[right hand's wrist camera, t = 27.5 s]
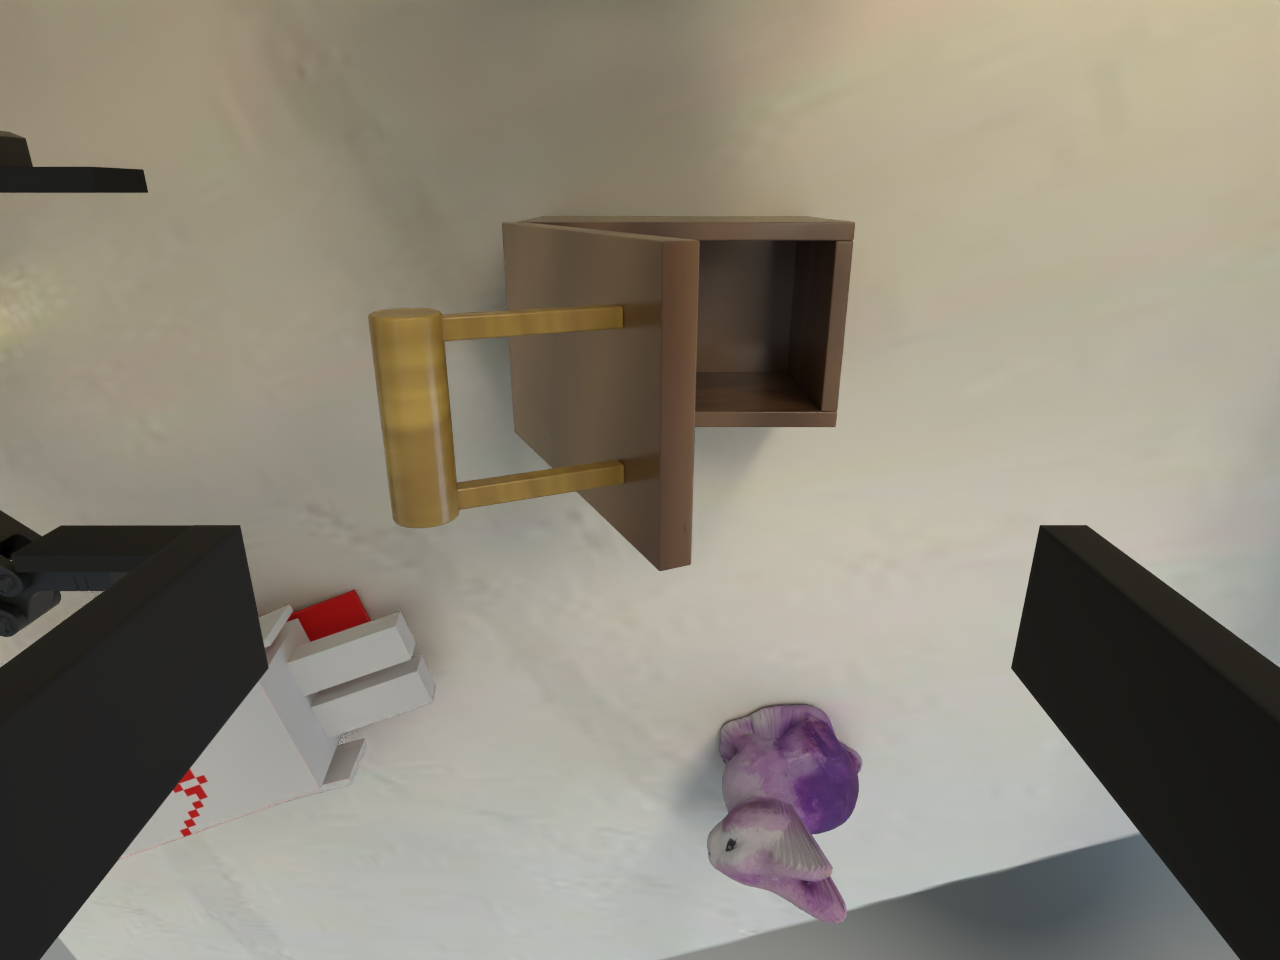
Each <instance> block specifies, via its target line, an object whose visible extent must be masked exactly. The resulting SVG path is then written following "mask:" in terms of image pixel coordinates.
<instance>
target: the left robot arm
mask: <svg viewBox="0 0 1280 960" xmlns="http://www.w3.org/2000/svg"><path fill="white" fill-rule="evenodd" d="M0 193H148V190H147V185H146V180H145V175H144V171H143V170H139V169H120V168H101V167H33V165H32V162H31V158H30V154H29V150H28V146H27V142H26V139H25V138H23V137H20V136H18V135H15V134H13V133H10V132H4V131H0ZM190 527H192V526H60V527H58V528H56V529H54V530H53V531H51V532H49V533H47V534H46V535H44V536H41V535H39V534H37V533H36V532H34V531H33V530H31V529H29V528H28V527H26V526H25V525H23V524H21V523H20V522H18V521H17V520H15V519H13V518H12V517H10V516H9V515H7V514H5V513H4V512H2V511H1V510H0V636H4V637H9V636H12V635H14V634H16V633H17V632H19V631H20V630H21V629H23V628H24V627H26V626H27V625H29V624H30V623H32V622H33V621H34V620H36V619H37V618H39V617H40V616H42V615H43V614H44V613H46V612H47V611H49V610H50V609H51V608H53V607H54V606H56V605H57V604H59V602H60V600H61V594H60V592H59V591H78V590H79V591H88V590H90V591H104V590H106V589H108V588H109V587H111V586H112V585H113V584H115V583H116V582H117V581H119V580H120V579H121V578H123V577H124V576H125V575H127V574H128V573H130V572H131V571H132V570H134V569H135V568H136V567H138V566H139V565H140V564H142V563H143V562H144V561H146V560H147V559H148V558H150V557H151V556H153V555H154V554H155V553H157V552H158V551H159V550H161V549H162V548H163V547H165V546H166V545H167V544H169V543H170V542H172V541H173V540H174V539H176V538H177V537H178V536H180V535H181V534H182V533H184V532H185V531H186V530H188V529H189V528H190ZM10 560H12V561H10Z"/></svg>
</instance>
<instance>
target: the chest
mask: <svg viewBox="0 0 1280 960" xmlns="http://www.w3.org/2000/svg"><path fill="white" fill-rule="evenodd" d="M520 222H528V223H537V224H547V225H557V226H566V227H576V228H586V229H595V230H605V231H615V232H624V233H634V234H644V235H653V236H663V237H673V238H682V239H692V240H698V241H699V242H700V246H699V284H698V321H697V358H696V395H695V427H835V426H836V418H837V407H838V396H839V386H840V375H841V365H842V354H843V343H844V333H845V322H846V312H847V301H848V290H849V280H850V269H851V259H852V248H853V241H852V240H853V238H854V228H855V223H854V222H849V221H840V220H832V219H824V218H816V217H641V216H543V217H538V218H534V219H529V220H524V221H520Z"/></svg>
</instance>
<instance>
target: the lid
mask: <svg viewBox="0 0 1280 960" xmlns="http://www.w3.org/2000/svg"><path fill="white" fill-rule="evenodd" d="M502 230H503V246H504V263H505V280H506V297H507V310H505V311H489V312H472V313H455V314H442V313H441V312H440V311H438V310H435V309H428V308H398V309H387V310H380V311H375V312H372V313H370V314H369V316H368V320H369V328H370V336H371V345H372V353H373V361H374V369H375V377H376V385H377V393H378V401H379V410H380V418H381V426H382V434H383V442H384V450H385V458H386V466H387V475H388V483H389V491H390V499H391V507H392V515H393V520H394V521H395V523H397V524H398V525H400V526H404V527H409V528H428V527H435V526H439V525H443V524H446V523H448V522H450V521H452V520H454V519H455V518H456V517H457V516H458V514H459V510H461V509H467V508H474V507H480V506H486V505H492V504H499V503H505V502H511V501H517V500H524V499H530V498H536V497H542V496H549V495H555V494H561V493H567V492H574V491H577V492H578V493H579V494H580V495H581V496H582V497H583V498H584V499H585V500H586V501H587V502H588V503H589V504H590V505H591V506H592V507H593V508H594V509H595V510H596V511H597V512H598V513H599V514H601V515H602V516H603V517H604V518H605V519H606V520H607V521H608V522H609V523H610V524H611V525H612V526H613V527H614V528H615V529H616V530H617V531H618V532H619V533H620V534H621V535H622V536H623V537H624V538H625V539H627V540H628V541H629V542H630V543H631V544H632V545H633V546H634V547H635V548H636V549H637V550H638V551H639V552H640V553H641V554H642V555H643V556H644V557H645V558H646V559H647V560H648V561H649V562H650V563H651V564H652V565H654V566H655V567H656V568H657V569H658V570H659V571H663V570H668V569H672V568H677V567H682V566H686V565H690V564H691V544H692V507H693V470H694V432H695V395H696V358H697V321H698V284H699V246H700V242H699V241H698V240H692V239H682V238H673V237H663V236H653V235H644V234H634V233H624V232H615V231H605V230H595V229H586V228H576V227H566V226H557V225H547V224H537V223H528V222H506V223H502ZM497 337H509V347H510V364H511V381H512V398H513V414H514V431H515V433H516V434H517V435H518V436H519V437H521V438H522V439H523V440H524V441H525V442H526V443H527V444H528V445H529V446H530V447H531V448H532V449H533V450H534V451H535V452H536V453H537V454H538V455H539V456H540V457H541V458H542V459H543V460H544V461H545V462H547V463H548V464H549V465H550V466H551V467H552V468H553V469H548V470H541V471H534V472H527V473H520V474H513V475H507V476H500V477H493V478H486V479H479V480H472V481H465V482H458V483H457V478H456V467H455V456H454V445H453V433H452V422H451V411H450V400H449V389H448V377H447V366H446V355H445V344H444V341H456V340H470V339H484V338H497Z"/></svg>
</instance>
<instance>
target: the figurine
mask: <svg viewBox="0 0 1280 960" xmlns="http://www.w3.org/2000/svg"><path fill="white" fill-rule="evenodd" d="M720 738H721V740H720V741H721V742H720V744H721V745H720V753H721V757H722V758H723V761H724V762H725V763H726V764H727V766H726V768H725V770H724V773H723V779H722V792H723V797H724V800H725V804H726V807H727V810H728V815H727V816H726V817H725V818H724V819H723V820H722V821H721V822H720V823H718V824H717V825H716V826H715V827H714V828H713V829H712V831H711V832H710V833H709V836H708V842H707V848H708V853H709V860H710V863H711V864H712V866H713V867H714V868H715V869H717V870H719V871H720V872H722V873H723V874H725V875H726V876H728V877H730V878H731V879H733V880H735V881H737V882H739V883H742V884H744V885H748V886H752V887H757V888H761V889H765V890H769V891H771V892H774V893H775V894H777V895H779V896H781V897H782V898H784V899H786V900H787V901H789V902H791V903H792V904H794V905H795V906H796V907H798V908H799V909H801V910H803V911H805V912H806V913H808V914H810V915H811V916H813V917H815V918H817V919H819V920H820V921H824V922H827V923H834V924H837V923H840V922H842V921H843V920H844V919H845V917H846V913H847V910H846V906H845V902H844V900H843V898H842V896H841V895H840V893H839V891H838V889H837V887H836V886H835V884H834V882H833V880H832V879H831V877H830V875H831V873H832V869H833V868H832V866H831V864H830V863H829V861H828V860H827V858H826V857H825V855H824V853H823V852H822V850H821V849H820V847H819V846H818V844H817V843H816V841H815V839H814V838H813V836H812V835H811V834H819V833H823V832H826V831H830V830H832V829H834V828H836V827H838V826H840V825H842V824H843V823H844V822H846V820H847V819H848V818H849V817H850V815H851V814H852V812H853V810H854V808H855V805H856V801H857V797H858V792H859V783H858V775H857V774H858V772H859V771H860V770H861V768H862V759H861V756H860V755H859V754H858V753H857V752H856V751H855V750H853V749H851V748H849V747H847V746H846V745H844V744H843V743H841V742H840V741H838V740H837V738H836V736H835V734H834V731H833V728H832V725H831V722H830V720H829V718H828V716H827V715H826V714H825V713H824V712H823V711H822V710H820V709H818V708H816V707H813V706H810V705H781V706H772V707H767V708H765V707H763V708H762V709H760V710H758V711H756V712H754V713H752V714H751V715H749V716H748V717H744V718H742V719H737V720H733V721H730V722H728V723H726V724H724V725H723V728H722V729H721V737H720Z"/></svg>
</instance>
